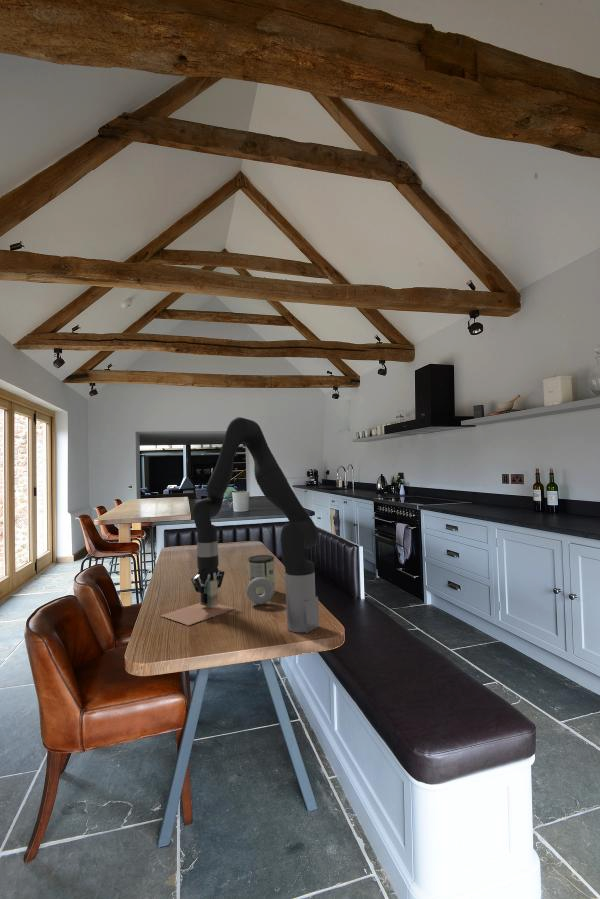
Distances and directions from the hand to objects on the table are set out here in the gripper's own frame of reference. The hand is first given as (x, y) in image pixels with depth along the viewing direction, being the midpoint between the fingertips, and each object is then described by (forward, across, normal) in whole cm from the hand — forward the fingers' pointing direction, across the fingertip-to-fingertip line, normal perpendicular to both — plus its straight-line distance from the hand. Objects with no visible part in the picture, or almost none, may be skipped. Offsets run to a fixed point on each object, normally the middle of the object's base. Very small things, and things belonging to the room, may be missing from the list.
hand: (209, 601), depth 160 cm
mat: (+3, -5, 0) cm, 6 cm away
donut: (+3, +14, -12) cm, 19 cm away
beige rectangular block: (+1, 0, 0) cm, 1 cm away
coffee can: (+3, +25, -2) cm, 25 cm away
